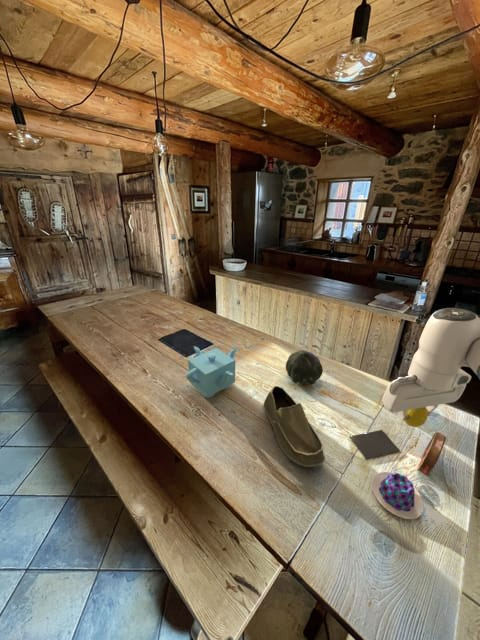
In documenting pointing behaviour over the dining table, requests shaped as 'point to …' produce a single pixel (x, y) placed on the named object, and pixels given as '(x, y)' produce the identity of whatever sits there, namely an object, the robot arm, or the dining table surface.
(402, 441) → the dining table surface
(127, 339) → the dining table surface
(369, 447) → the slate coaster
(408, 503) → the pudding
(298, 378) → the squash
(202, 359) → the teal knobbed box
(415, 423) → the lemon
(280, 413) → the loafer
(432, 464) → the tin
